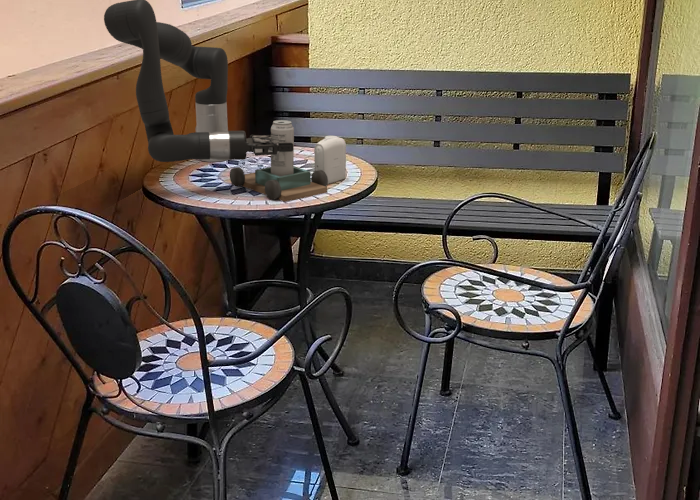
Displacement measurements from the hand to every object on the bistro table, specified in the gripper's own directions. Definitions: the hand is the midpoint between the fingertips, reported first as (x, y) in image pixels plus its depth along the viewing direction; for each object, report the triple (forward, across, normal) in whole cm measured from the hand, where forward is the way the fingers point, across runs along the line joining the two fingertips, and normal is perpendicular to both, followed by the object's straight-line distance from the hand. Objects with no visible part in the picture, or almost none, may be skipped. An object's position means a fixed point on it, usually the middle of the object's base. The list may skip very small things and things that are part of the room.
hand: (291, 144), depth 214 cm
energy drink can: (-2, 0, +9) cm, 10 cm away
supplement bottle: (+15, +19, +12) cm, 27 cm away
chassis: (-3, +2, +12) cm, 13 cm away
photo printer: (+12, +6, +12) cm, 18 cm away
